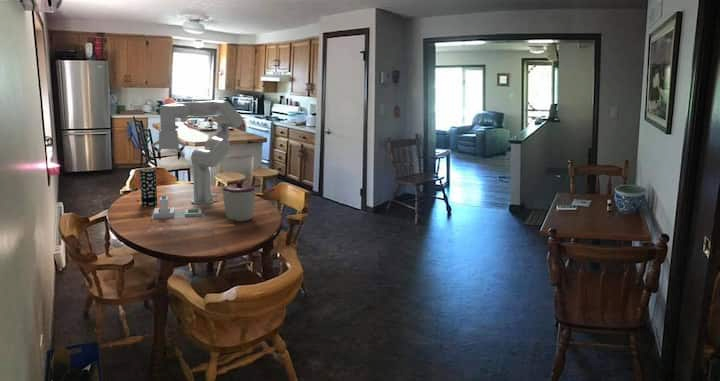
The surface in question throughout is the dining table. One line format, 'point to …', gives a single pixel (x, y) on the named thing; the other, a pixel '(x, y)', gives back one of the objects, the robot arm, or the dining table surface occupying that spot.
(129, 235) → the dining table surface
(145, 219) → the dining table surface
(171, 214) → the patch panel
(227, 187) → the canister
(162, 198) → the plug
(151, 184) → the white-spotted black cylinder
